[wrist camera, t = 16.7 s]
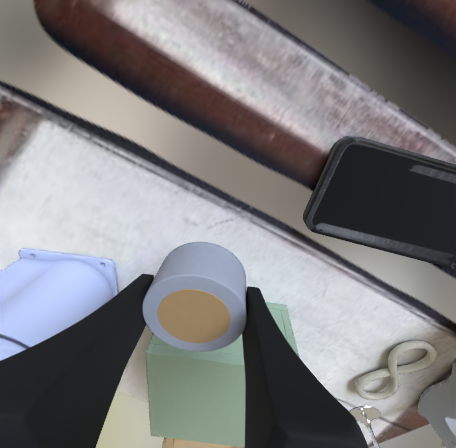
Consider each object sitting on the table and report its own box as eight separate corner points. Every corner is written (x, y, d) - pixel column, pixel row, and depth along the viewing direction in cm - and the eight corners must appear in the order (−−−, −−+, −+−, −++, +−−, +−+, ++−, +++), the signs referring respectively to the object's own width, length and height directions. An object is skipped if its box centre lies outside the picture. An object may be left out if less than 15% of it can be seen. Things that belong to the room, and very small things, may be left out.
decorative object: (345, 386, 29) (377, 397, 30) (349, 396, 28) (382, 407, 29) (406, 332, 25) (442, 346, 25) (413, 340, 24) (450, 355, 24)
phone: (462, 271, 20) (302, 229, 19) (451, 263, 21) (298, 223, 20) (538, 187, 16) (347, 131, 15) (521, 183, 17) (340, 130, 16)
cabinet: (263, 379, 30) (269, 450, 23) (170, 367, 30) (150, 435, 23) (286, 304, 24) (303, 373, 17) (170, 289, 24) (145, 352, 17)
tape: (162, 304, 15) (144, 347, 12) (160, 235, 12) (138, 269, 10) (239, 313, 15) (239, 358, 12) (252, 247, 12) (255, 283, 10)
